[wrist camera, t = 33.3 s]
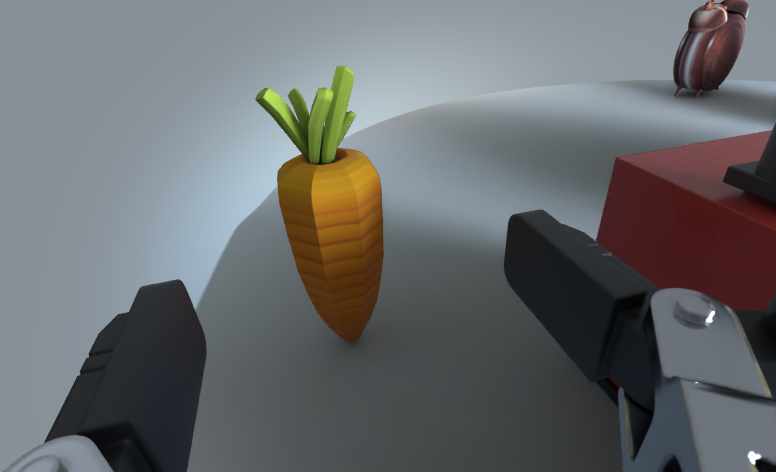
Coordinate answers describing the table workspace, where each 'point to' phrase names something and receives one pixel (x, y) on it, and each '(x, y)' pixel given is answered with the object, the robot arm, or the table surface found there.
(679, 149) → the knife block
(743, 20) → the alarm clock
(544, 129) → the table surface
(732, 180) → the slider
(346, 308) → the carrot
